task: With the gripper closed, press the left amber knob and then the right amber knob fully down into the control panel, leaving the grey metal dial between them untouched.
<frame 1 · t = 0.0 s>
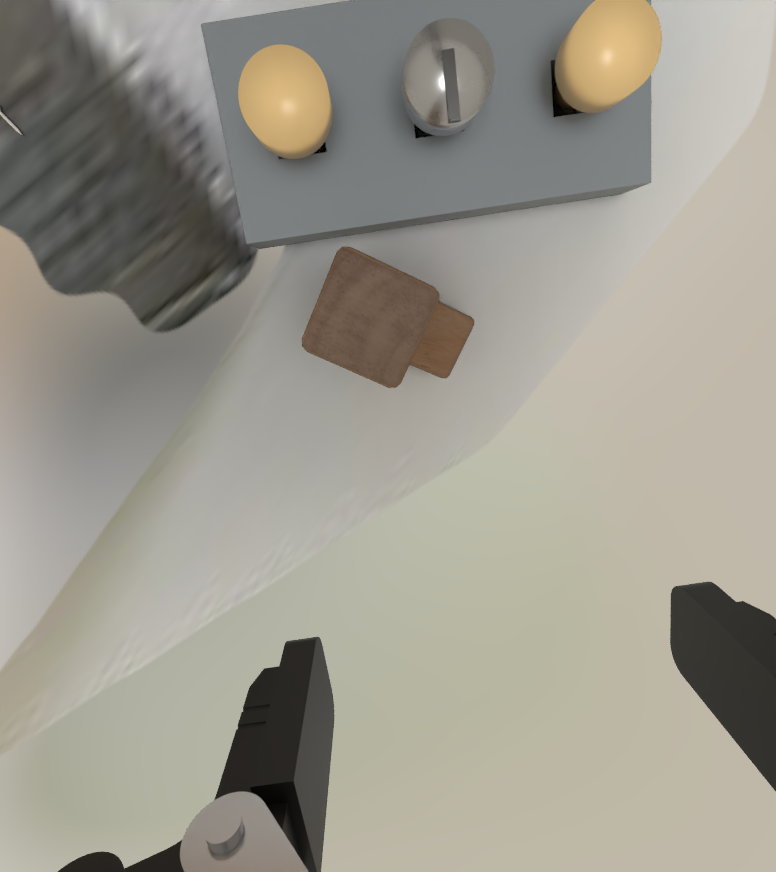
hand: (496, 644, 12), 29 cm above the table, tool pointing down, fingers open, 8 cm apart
wooden block: (398, 319, 38), on the table
dial middle: (441, 93, 29), point 6 cm above the table, slide at 0.0 cm
panel: (429, 127, 35), on the table
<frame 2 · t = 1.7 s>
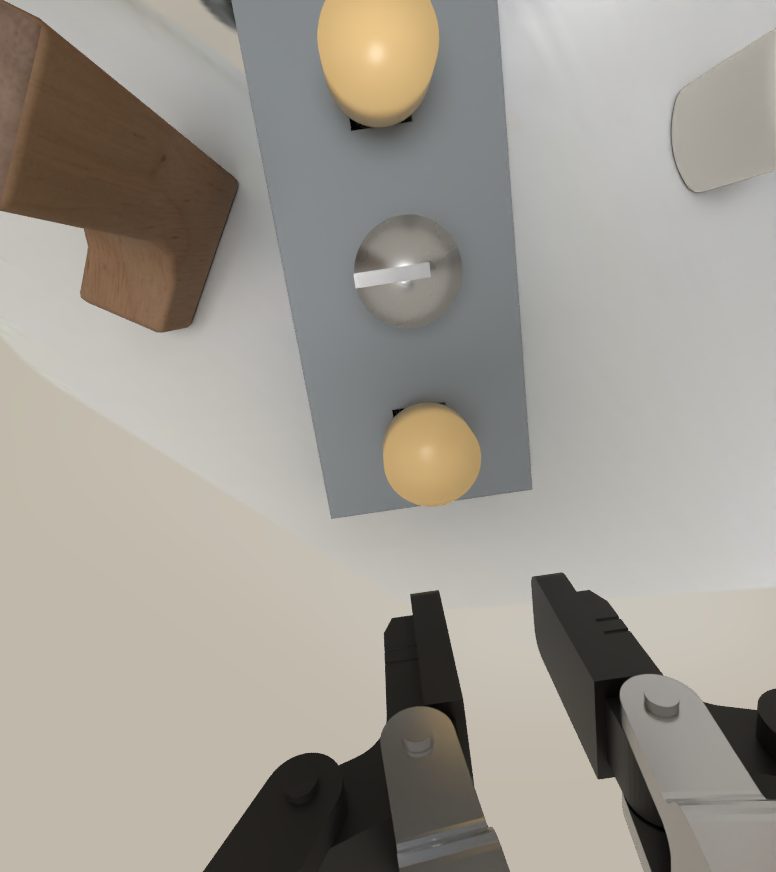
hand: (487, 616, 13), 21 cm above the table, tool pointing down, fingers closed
wooden block: (179, 241, 30), on the table
dial middle: (404, 275, 25), point 6 cm above the table, slide at 0.0 cm
panel: (397, 277, 30), on the table
eye dropper bottle: (698, 139, 29), on the table
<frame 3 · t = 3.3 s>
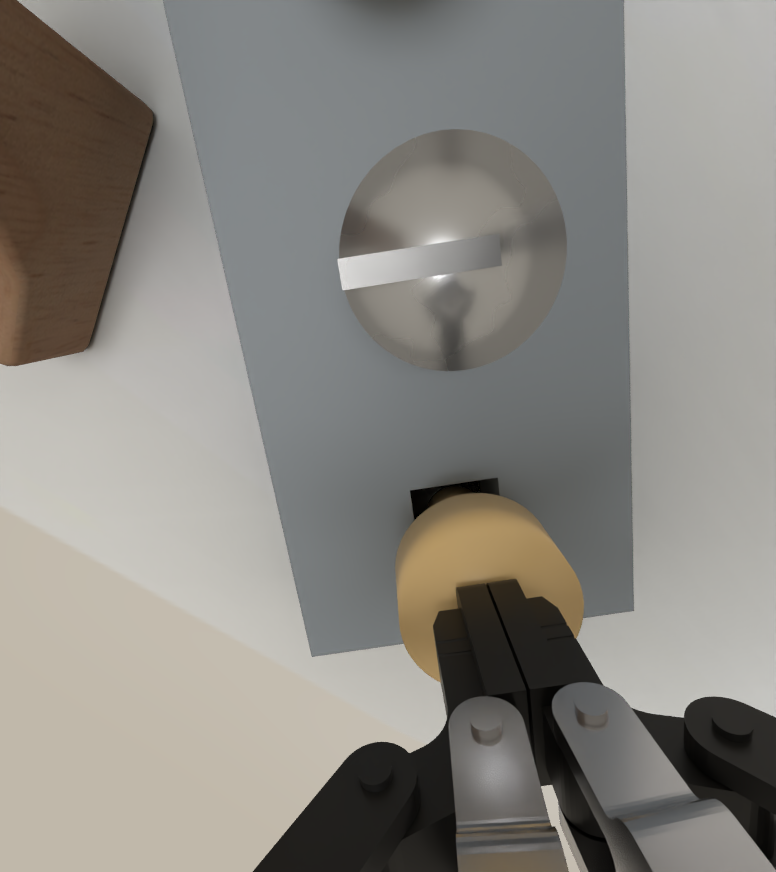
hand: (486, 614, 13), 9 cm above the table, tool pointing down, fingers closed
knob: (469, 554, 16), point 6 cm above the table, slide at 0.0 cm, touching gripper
wooden block: (65, 214, 18), on the table
dial middle: (436, 264, 13), point 6 cm above the table, slide at 0.0 cm
panel: (417, 272, 19), on the table
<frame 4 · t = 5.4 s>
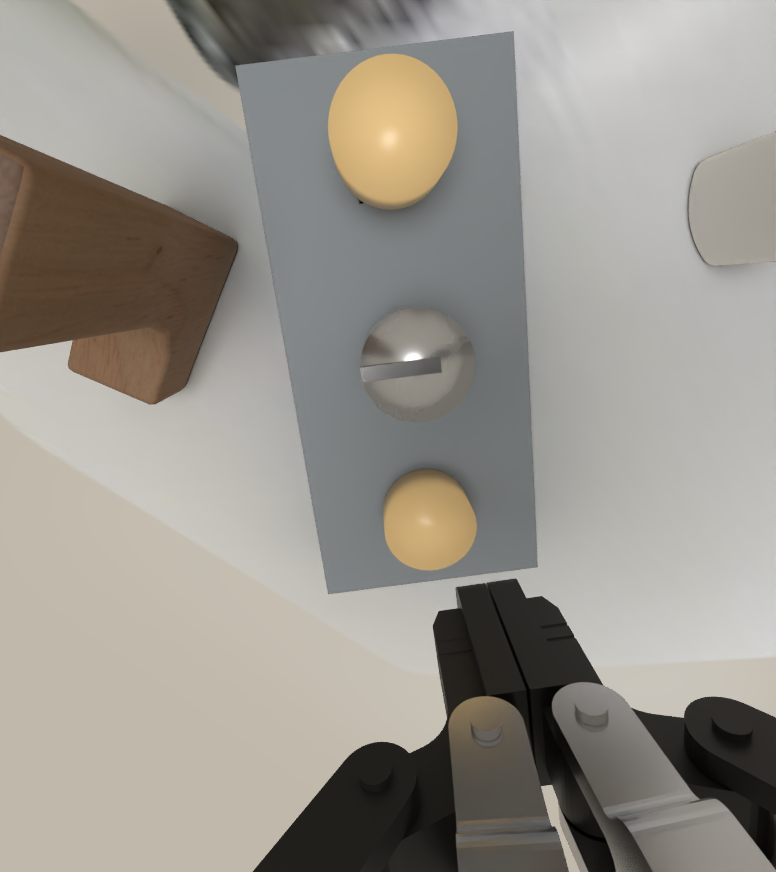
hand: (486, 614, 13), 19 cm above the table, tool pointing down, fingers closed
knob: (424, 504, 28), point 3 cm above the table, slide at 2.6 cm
wooden block: (174, 301, 28), on the table
dial middle: (411, 357, 23), point 6 cm above the table, slide at 0.0 cm
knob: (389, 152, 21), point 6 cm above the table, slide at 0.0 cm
panel: (402, 343, 29), on the table
eye dropper bottle: (715, 211, 28), on the table
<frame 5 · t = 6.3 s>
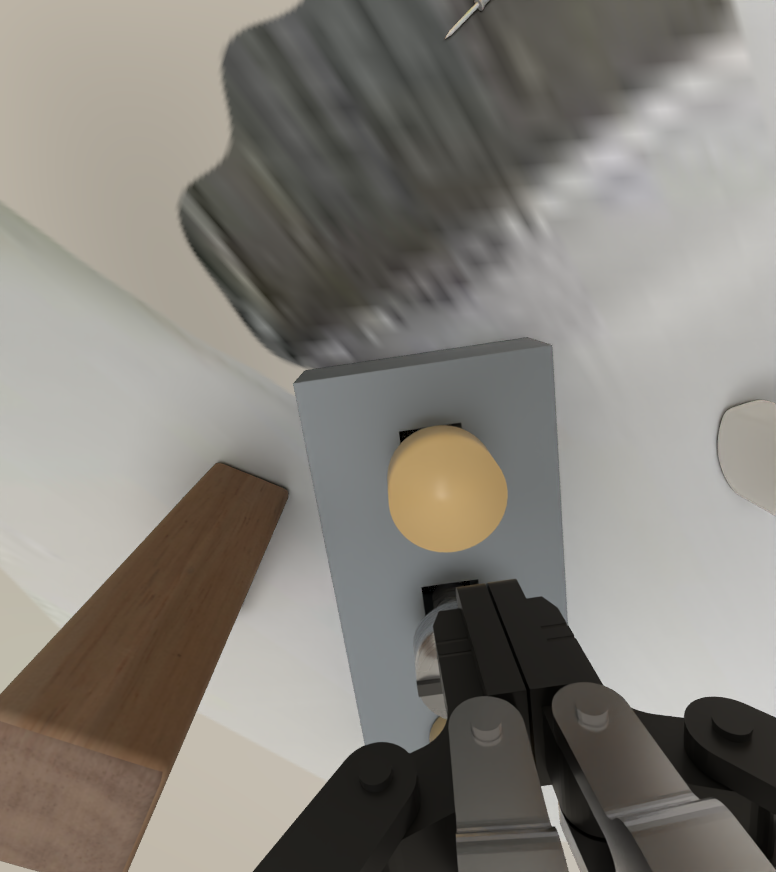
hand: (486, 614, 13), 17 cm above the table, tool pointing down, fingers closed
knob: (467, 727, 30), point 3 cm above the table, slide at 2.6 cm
wooden block: (229, 537, 30), on the table
dial middle: (459, 635, 25), point 6 cm above the table, slide at 0.0 cm
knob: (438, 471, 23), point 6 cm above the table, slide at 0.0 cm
panel: (443, 568, 31), on the table
eye dropper bottle: (743, 446, 29), on the table
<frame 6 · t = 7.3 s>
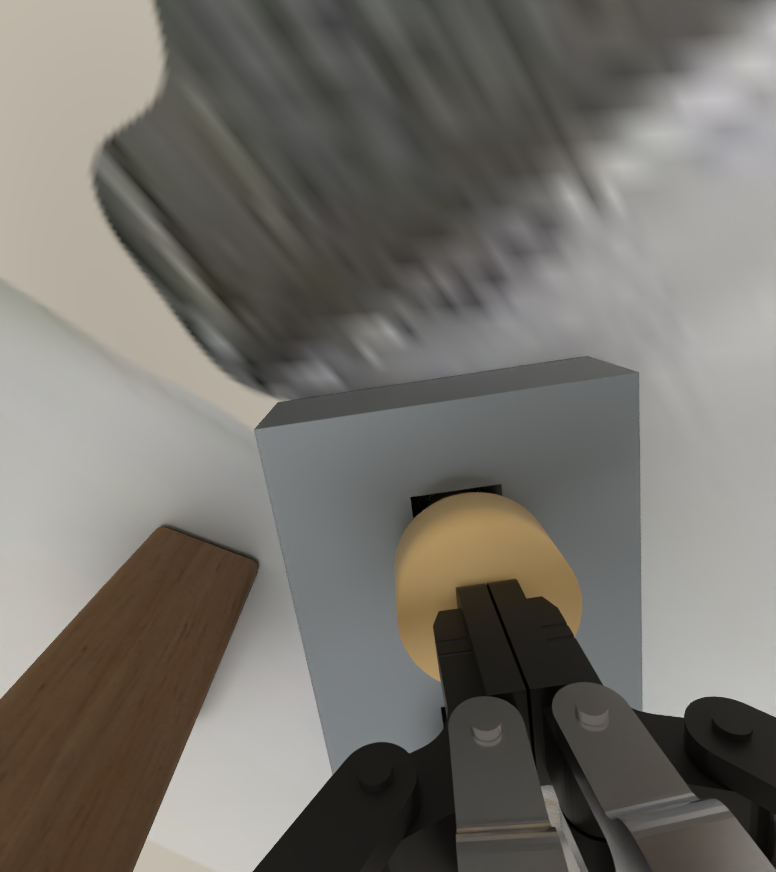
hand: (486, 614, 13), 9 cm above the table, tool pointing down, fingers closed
wooden block: (180, 622, 23), on the table
dial middle: (497, 788, 17), point 6 cm above the table, slide at 0.0 cm
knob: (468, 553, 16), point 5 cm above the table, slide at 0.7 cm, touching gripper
panel: (466, 660, 23), on the table
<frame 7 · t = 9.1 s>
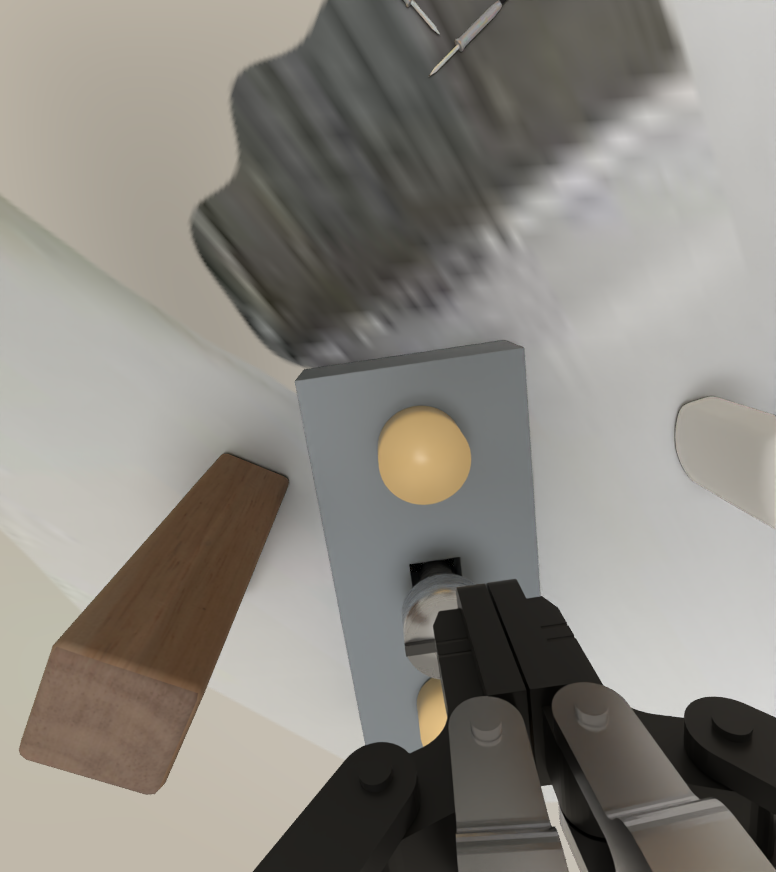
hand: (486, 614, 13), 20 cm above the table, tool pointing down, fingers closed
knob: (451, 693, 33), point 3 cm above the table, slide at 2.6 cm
wooden block: (234, 522, 33), on the table
dial middle: (442, 605, 28), point 6 cm above the table, slide at 0.0 cm
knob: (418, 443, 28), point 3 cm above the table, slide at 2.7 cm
panel: (429, 549, 34), on the table
eye dropper bottle: (698, 438, 33), on the table
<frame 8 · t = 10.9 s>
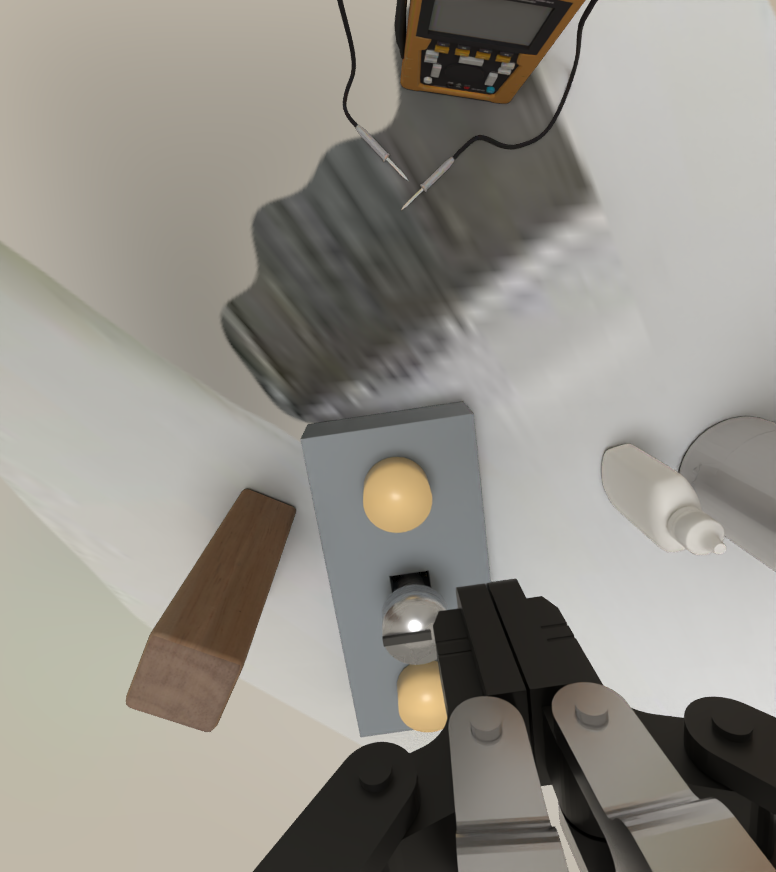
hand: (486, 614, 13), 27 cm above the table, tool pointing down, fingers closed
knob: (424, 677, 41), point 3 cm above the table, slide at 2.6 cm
multimeter: (449, 136, 34), on the table
wooden block: (252, 542, 42), on the table
dial middle: (414, 608, 36), point 6 cm above the table, slide at 0.0 cm
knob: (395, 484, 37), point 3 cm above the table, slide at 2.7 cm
panel: (408, 563, 42), on the table
eye dropper bottle: (621, 475, 41), on the table
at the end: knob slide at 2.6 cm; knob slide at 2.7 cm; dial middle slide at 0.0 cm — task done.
